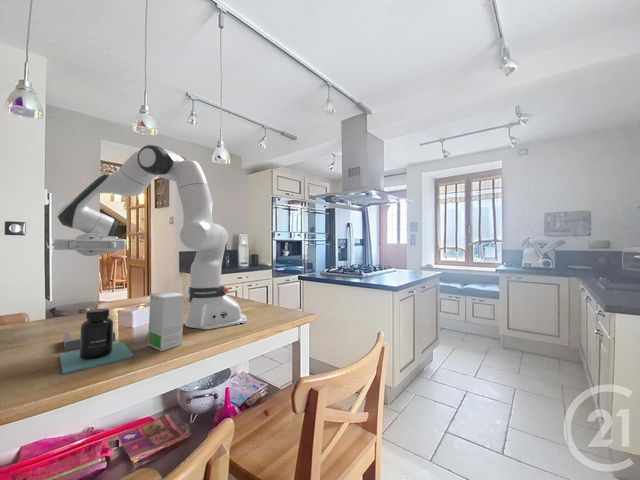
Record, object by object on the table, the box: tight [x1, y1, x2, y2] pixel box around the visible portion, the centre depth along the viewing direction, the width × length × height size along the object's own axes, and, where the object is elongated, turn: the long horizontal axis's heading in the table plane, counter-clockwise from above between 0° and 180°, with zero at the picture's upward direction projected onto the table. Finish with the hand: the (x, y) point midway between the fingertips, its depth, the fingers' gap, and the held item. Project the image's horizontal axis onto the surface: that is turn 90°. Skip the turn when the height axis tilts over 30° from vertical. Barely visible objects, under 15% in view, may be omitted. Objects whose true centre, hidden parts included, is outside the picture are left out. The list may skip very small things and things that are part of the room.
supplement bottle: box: [79, 307, 114, 359], centre depth 74 cm, size 7×7×12 cm
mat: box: [59, 341, 135, 375], centre depth 74 cm, size 14×14×1 cm
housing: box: [62, 330, 116, 352], centre depth 85 cm, size 10×11×2 cm
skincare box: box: [147, 290, 185, 352], centre depth 83 cm, size 8×7×16 cm
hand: (94, 244), depth 95 cm, fingers open, 8 cm apart
